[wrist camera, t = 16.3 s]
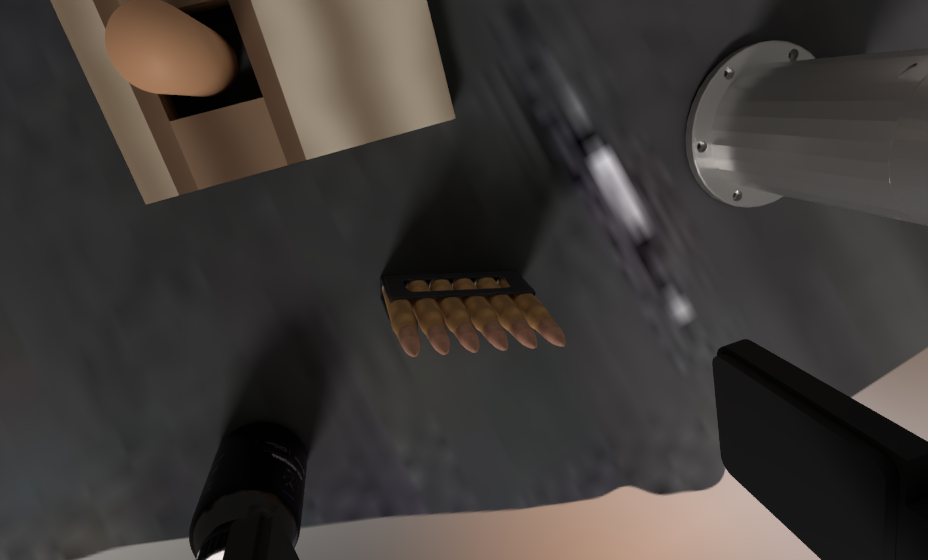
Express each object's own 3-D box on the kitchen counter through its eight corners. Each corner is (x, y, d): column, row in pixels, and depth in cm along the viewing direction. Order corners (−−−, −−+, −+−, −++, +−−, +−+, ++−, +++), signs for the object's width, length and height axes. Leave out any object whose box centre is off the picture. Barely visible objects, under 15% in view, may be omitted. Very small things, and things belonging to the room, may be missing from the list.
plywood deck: (390, -114, 33) (394, -131, 31) (448, 117, 38) (455, 118, 36) (49, -40, 31) (26, -52, 28) (158, 197, 36) (145, 204, 33)
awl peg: (224, 21, 33) (181, -12, 24) (248, 87, 35) (216, 81, 26) (157, 36, 33) (87, 9, 24) (185, 103, 34) (129, 103, 25)
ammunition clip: (380, 299, 41) (397, 371, 30) (380, 275, 41) (397, 340, 29) (515, 292, 43) (577, 358, 32) (516, 270, 43) (580, 329, 32)
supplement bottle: (315, 424, 43) (309, 536, 32) (297, 496, 45) (284, 627, 34) (223, 412, 41) (182, 527, 30) (208, 488, 43) (163, 624, 32)
